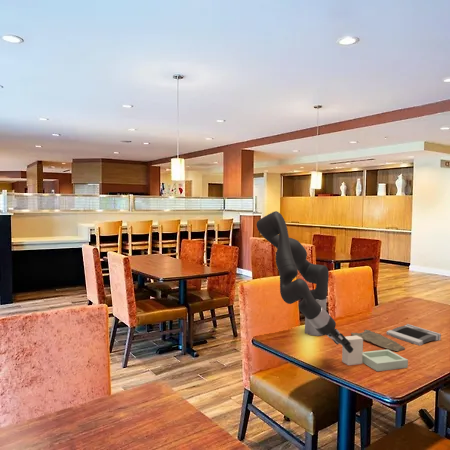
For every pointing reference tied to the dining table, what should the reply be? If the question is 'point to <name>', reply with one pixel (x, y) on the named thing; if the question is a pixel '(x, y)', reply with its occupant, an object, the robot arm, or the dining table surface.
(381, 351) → the pale green tray
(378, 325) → the dining table surface
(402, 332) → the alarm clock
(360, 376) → the dining table surface
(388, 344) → the stone tool
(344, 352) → the gray block
